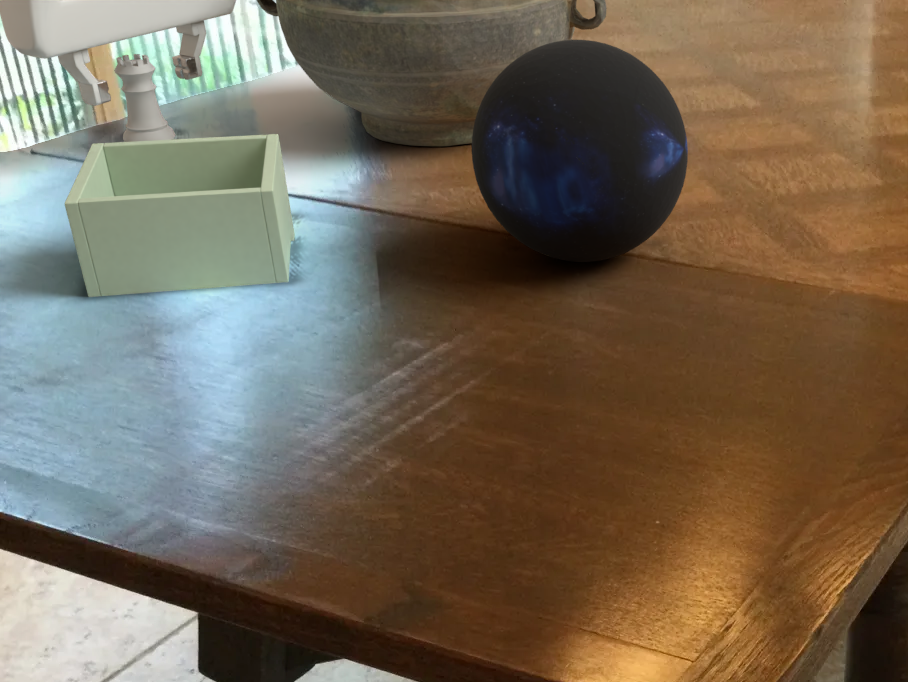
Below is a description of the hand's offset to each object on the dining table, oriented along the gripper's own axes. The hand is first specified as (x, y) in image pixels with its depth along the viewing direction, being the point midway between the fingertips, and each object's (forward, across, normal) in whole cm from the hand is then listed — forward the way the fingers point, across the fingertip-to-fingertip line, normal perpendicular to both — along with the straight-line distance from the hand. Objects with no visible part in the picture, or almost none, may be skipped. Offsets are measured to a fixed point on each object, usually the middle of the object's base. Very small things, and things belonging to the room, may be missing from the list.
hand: (145, 90), depth 114 cm
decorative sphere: (+6, -1, +45) cm, 45 cm away
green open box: (+5, +16, +24) cm, 30 cm away
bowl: (+6, -20, +14) cm, 25 cm away
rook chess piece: (+6, 0, 0) cm, 6 cm away
